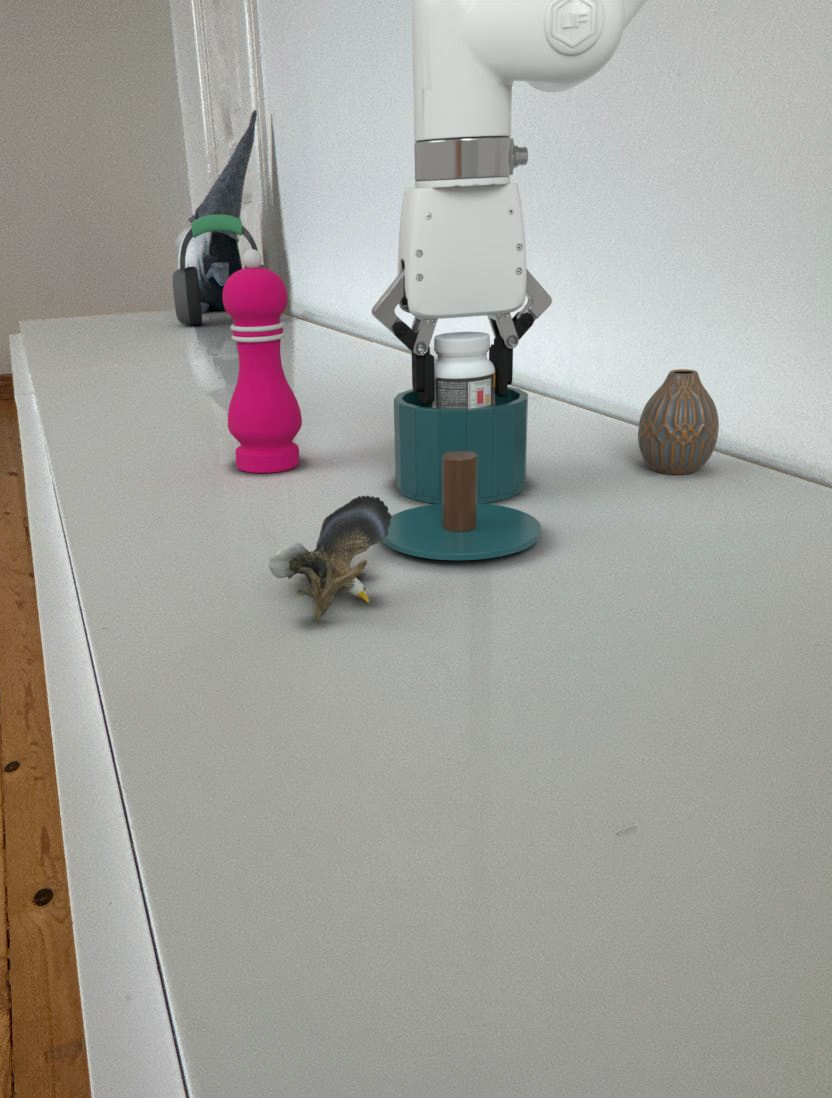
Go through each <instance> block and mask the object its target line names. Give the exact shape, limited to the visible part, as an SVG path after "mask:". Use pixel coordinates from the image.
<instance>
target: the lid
mask: <svg viewBox="0 0 832 1098" xmlns="http://www.w3.org/2000/svg"><path fill="white" fill-rule="evenodd" d="M477 460H478V456H477V454H476V453H473V452H468V451H454V452H448V453H445V454H443V455H442V504H434V503H431V504H427V505H421V506H416V507H411V508H407V509H404V510H401V511H399V512H397V513H393V514H391V516H392V518H391V520H390V522H391V525H390V527H389V528H388V535H387V537H385V538H384V539H383V540H382V541H381V542H383V543H384V545H385V546H387V547H388V548H390V549H392V550H394V551H397V552H398V553H401V554H405V555H408V556H413V557H416V558H417V557H418V558H422V559H430V560H438V561H439V560H441V561H477V560H486V559H495V558H499V557H504V556H509V555H513V554H516V553H519V552H521V551H524V550H526V549H529V548H530V547H532V546H533V545H535V544H536V543H537V542H538V541H539V539H541V536H542V535H541V534H542V526H541V523H540V521H539V520H538V519H537V518H536V517H534V516H533V515H531V514H529V513H528V512H525V511H522V510H519V509H516V508H513V507H508V506H503V505H499V504H492V503H477Z"/></svg>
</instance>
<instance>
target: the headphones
mask: <svg viewBox="0 0 832 1098" xmlns="http://www.w3.org/2000/svg"><path fill="white" fill-rule="evenodd" d="M190 227H191V228H190V229H189V230H188V231H187V233H186V235H185V237H184V238H183V241H182V244H181V247H180V254H179V268H177V269H176V270H174V271H173V274H172V291H173V302H174V309H175V314H176V319H177V320H178V322H179V323H180V324H182V325H191V326H192V325H193V326H201V325H202V324H203V311H202V300H201V291H200V281H199V273H198V268H197V266H187V267H186V256H187V255H186V254H187V251H188V247H189V244H190V242H191V240H192V239H196V238H197V237H199V236H201V235H203V234H206V233H210V232H217V231H219V232H220V231H221V232H229V233H233V234H236V235H238V236H243V237H244V238H245V239H246V241H247V242H248V243H249V245H250V247H251V249H254V250H257V251H258V252H259V249H258V246H257V244H256V241H255V239H254V237H253V236H252V233H250V232H249V230H248V229H247V228H246V227H245V226H244V225H243V222H242V220H241V218H238V217H236V216H233V215H230V214H222V213H221V214H218V213H217V214H207V215H204V216H201V217H198V218H196V219H194V220H193V221H192V222H191V225H190ZM244 268H246V267H245V266H244ZM244 268H243V269H244ZM260 268H266V269H269V268H268V266H266V265H265V264H261V265H260Z"/></svg>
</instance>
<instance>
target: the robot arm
mask: <svg viewBox="0 0 832 1098" xmlns="http://www.w3.org/2000/svg"><path fill="white" fill-rule="evenodd" d="M647 1H648V0H413V3H412V15H411V16H412V17H411V19H412V20H411V22H412V25H411V26H412V29H411V30H412V82H413V135H414V136H413V137H414V144H413V145H414V146H413V147H414V149H413V151H414V187H409V188H407V187H406V188H404V192H403V198H402V202H401V203H402V204H401V212H400V220H399V232H398V234H399V235H398V247H397V248H398V250H397V251H398V252H397V274H396V275H397V276H396V277H395V278H394V280H393V281H392V282H391V284H390V285H389V286H388V287H387V288H386V289H385V291H384V292H383V294H382V295H381V296H380V297H379V299H378V300H377V302H376V303H375V304H374V305H373V306H372V308H371V315H372V316H373V318H375V319H376V320H377V321H378V322H379V323H380V324H381V325H383V327H385V329H387V330H388V331H390V332H391V333H392V335H394V336H395V337H396V339H398V340H399V341H400V342H401V343H402V344H403V345H404V346H405V347H406V348H407V349H408V350H409V351H410V352H411V386H412V389H413V391H414V392H418V396H419V398H420V399H421V400H422V401H424V402H425V403H432V402H433V401H435V372H434V363H435V356H434V355H433V354H431V346H430V345H431V341H432V339H433V335H434V333H435V329H436V327H437V323H438V320H441V319H443V320H444V319H456V318H471V317H484V316H486V317H487V319H488V323H489V324H490V328H491V331H492V334H493V337H494V338H493V344H492V343H490V348H489V351H488V360H490V361H491V362H492V363H493V365H494V367H495V394H496V395H497V396H499V397H507V387H509V386H510V385H512V384H513V373H514V371H513V370H514V349H515V348H516V347H517V346H518V345H519V342H520V340H521V339H522V337H523V336H524V335H525V334H526V333H527V332H528V331H529V330H530V329H531V327H533V325H534V323H535V321H536V320H537V319H539V318H540V317H541V316H542V314H543V313H545V311H546V310H547V309H549V307H550V306H551V305H552V302H553V299H552V297H551V294H549V293H548V292H547V290H546V289H545V288H544V287H543V286H542V285H541V284H540V282H539V281H538V280H537V279H536V278H535V277H534V275H533V274H532V273H531V272H530V271H529V270H528V269H527V248H526V246H527V245H526V233H525V223H524V215H523V206H522V201H521V195H520V194H521V193H520V189H519V183H518V182H511V176H513V175H514V170H515V169H516V168H518V167H520V166H521V167H522V166H527V164H528V162H529V161H528V160H529V150H528V148H527V146H520V147H519V146H518V145H515V143H514V137H511V136H512V97H513V96H512V95H513V84H514V82H525V83H526V84H527V85H529V86H530V87H531V88H534V89H536V90H538V91H541V92H544V93H561V92H565V91H568V90H571V89H572V88H575V87H577V86H579V85H580V84H583V83H584V82H586V81H588V80H589V79H591V78H592V77H594V76H595V75H596V74H598V73H599V72H600V71H602V69H603V68H605V66H606V65H607V64H608V63H609V62H610V61H611V58H613V56H614V55H615V53H616V51H617V49H618V47H619V46H620V45H619V44H620V42H621V39H622V36H623V33H624V30H625V29H626V27H627V26H628V25H629V24H630V22H631V21H632V20H633V19H634V17H635V16H636V15H637V13H638V12H639V11H640V10H641V8H643V6H644V5H645V4H646V2H647ZM526 298H527V302H526V304H525V301H526ZM524 304H525V305H524ZM397 306H399V308H400V310H402V311H403V312H405V313H408V314H411V315H412V316H414V318H413V321H412V323H411V327H410V326H409V325H408V324H407V323H405V322H404V321H403V320H402V319H401V318H399V317H400V316H398V315H397V314H396V313H395V312H396V308H397ZM522 307H523V308H522ZM521 308H522V309H521ZM519 309H521V310H519ZM518 310H519V311H518ZM516 311H518V312H516ZM513 312H516V313H515V314H514V315H513V316H512V314H511V313H513Z"/></svg>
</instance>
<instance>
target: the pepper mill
mask: <svg viewBox="0 0 832 1098" xmlns="http://www.w3.org/2000/svg"><path fill="white" fill-rule="evenodd" d="M241 259H242V264H243V266H244V267H246V268H241V269H239V270H237V271H234V272H233V273H232V274H230V276H229V277H228V278H227V279H226V281H225V283H224V285H223V288H222V303H223V307H224V310H225V312H226V313H227V314H228V315H229V316H230V318H231V319H232V321H233V323H232V324H231V325H230V327H229V328H230V330H231V334H232V335H231V340H232V341H234V342H236V349H237V354H238V375H237V381H236V384H235V387H234V390H233V393H232V395H231V399H230V402H229V404H228V411H227V428H228V431H229V433H230V434H231V436H232V437H233V438H234V439H235V440H236V441H237V442H238V444H239V446H237V448H235V451H234V452H235V453H234V454H235V464H236V468H237V469H238V470H239V471H242V472H244V473H252V474H270V473H271V474H272V473H281V472H285V471H289V470H292V469H294V468H296V467H298V466H299V464H300V446H299V445H298V444H297V443H296V442H294V439H295V438H296V437H297V435H298V434H299V432H300V430H301V428H302V426H303V418H302V411H301V407H300V404H299V402H298V400H297V397H296V395H295V393H294V391H293V390H292V387H291V386H290V384H289V382H288V380H287V378H286V375H285V372H284V369H283V363H282V356H281V341H282V339H283V338H285V336H286V334H285V332H284V327H285V322H283V321H281V317H282V315H283V313H284V311H285V310H286V308H287V305H288V301H289V300H288V298H289V297H288V296H289V295H288V291H287V287H286V284H285V282H284V281H283V279H282V277H281V276H280V275H279V274H277V273H276V272H275V271H273V270H271V269H269V268H268V269H266V268H260V265H262V262H263V258H262V255H261V253H260V252H259V250H258V251H257V250H254V249H252V248H250V249H247V250H245V252H244V253H243V254H242V258H241Z"/></svg>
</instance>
